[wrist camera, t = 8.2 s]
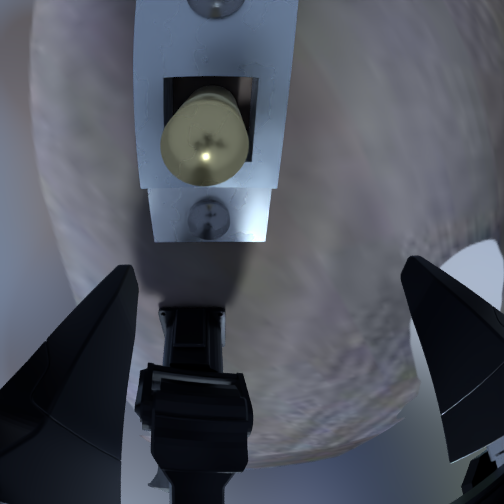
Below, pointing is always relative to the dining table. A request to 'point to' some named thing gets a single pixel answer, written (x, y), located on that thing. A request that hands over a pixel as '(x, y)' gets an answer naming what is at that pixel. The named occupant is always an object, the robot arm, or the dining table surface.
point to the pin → (205, 138)
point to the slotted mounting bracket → (212, 64)
